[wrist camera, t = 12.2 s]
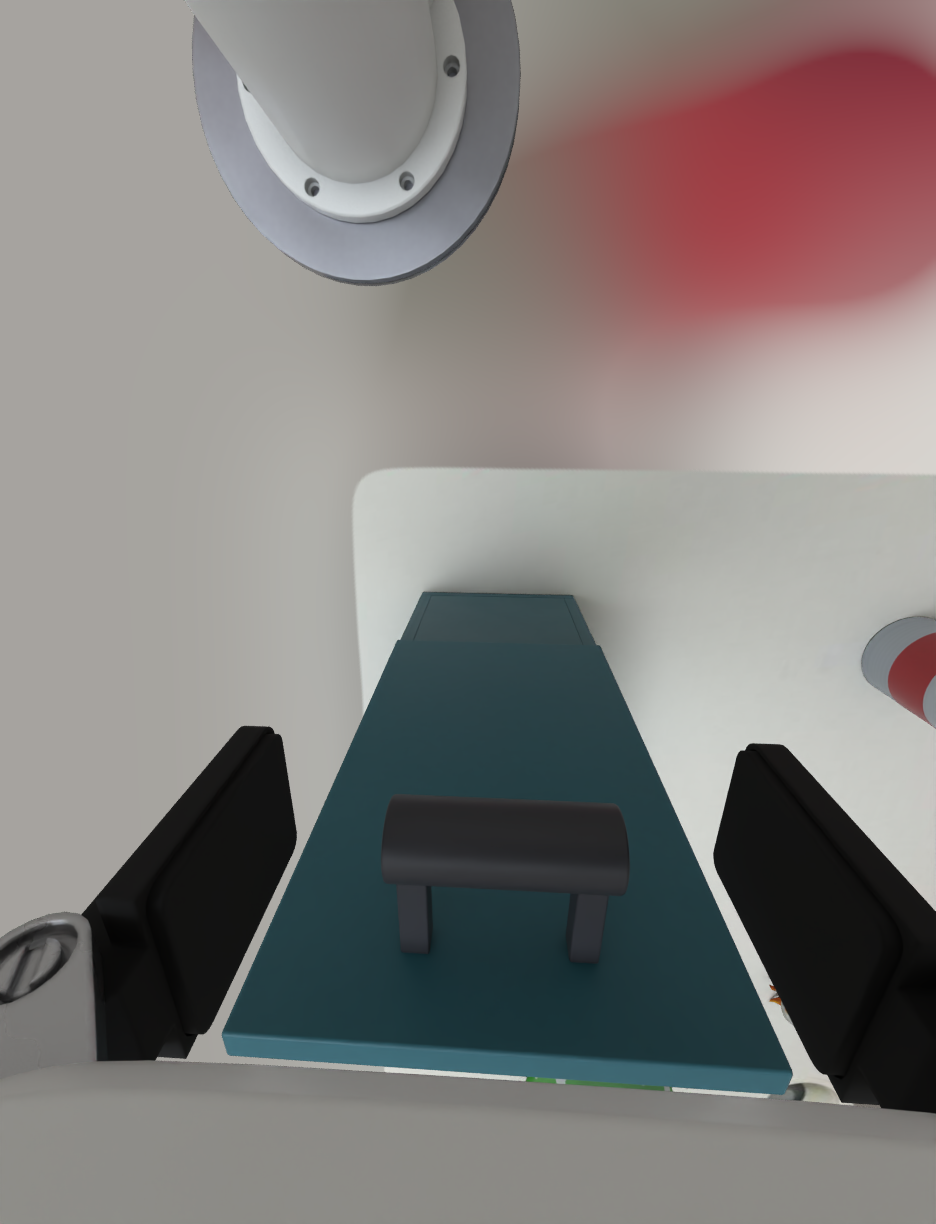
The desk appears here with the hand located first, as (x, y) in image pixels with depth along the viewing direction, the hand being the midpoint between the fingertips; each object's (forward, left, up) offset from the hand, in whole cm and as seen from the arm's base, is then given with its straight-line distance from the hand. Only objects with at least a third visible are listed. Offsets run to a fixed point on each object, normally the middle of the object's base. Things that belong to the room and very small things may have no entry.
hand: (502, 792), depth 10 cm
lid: (+5, +3, -8) cm, 9 cm away
